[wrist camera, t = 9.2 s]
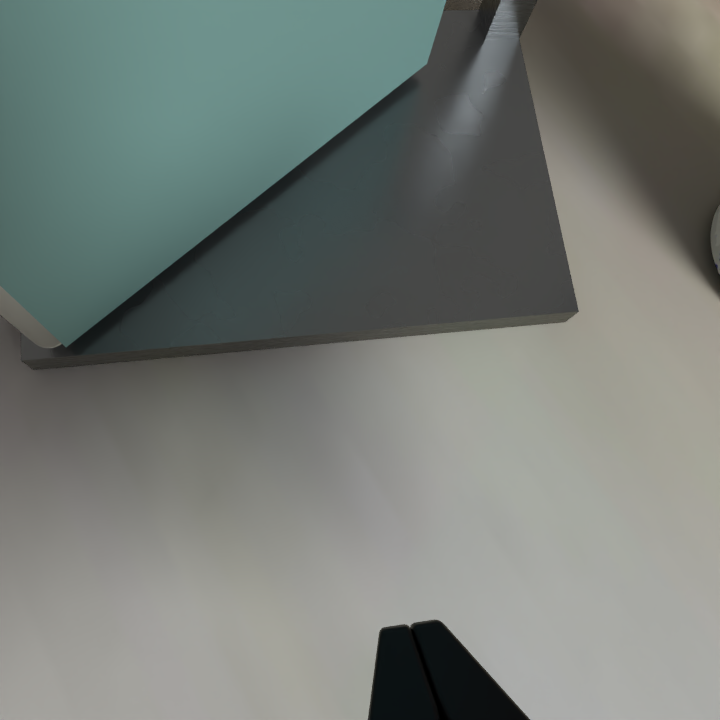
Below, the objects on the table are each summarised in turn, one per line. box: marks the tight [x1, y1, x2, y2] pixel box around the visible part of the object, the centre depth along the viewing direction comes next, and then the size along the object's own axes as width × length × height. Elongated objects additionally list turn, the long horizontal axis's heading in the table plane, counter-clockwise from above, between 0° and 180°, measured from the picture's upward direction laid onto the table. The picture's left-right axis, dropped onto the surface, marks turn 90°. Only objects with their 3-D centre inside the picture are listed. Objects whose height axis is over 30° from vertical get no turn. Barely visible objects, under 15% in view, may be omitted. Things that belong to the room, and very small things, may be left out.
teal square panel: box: [0, 0, 446, 348], centre depth 14 cm, size 1×14×13 cm, turn 134°
